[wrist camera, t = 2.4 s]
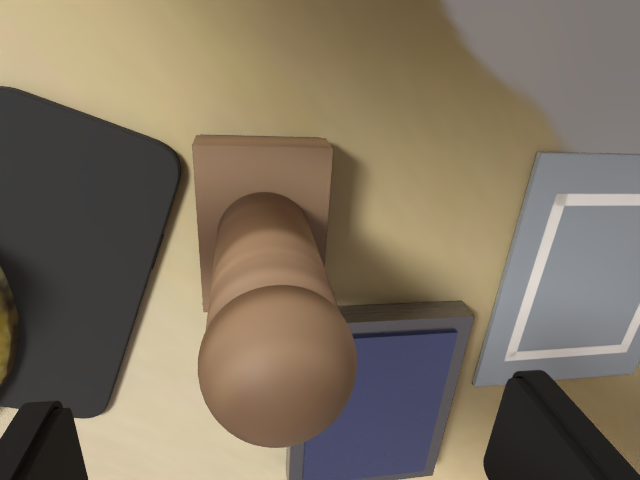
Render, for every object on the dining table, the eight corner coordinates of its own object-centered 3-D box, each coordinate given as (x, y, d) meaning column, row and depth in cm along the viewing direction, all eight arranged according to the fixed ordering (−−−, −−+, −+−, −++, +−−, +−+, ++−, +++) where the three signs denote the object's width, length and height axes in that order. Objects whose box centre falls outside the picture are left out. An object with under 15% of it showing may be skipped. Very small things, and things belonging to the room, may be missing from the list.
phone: (-69, 395, 20) (-31, 74, 14) (-58, 382, 20) (-18, 72, 15) (102, 423, 22) (189, 154, 17) (107, 410, 23) (191, 149, 17)
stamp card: (537, 152, 20) (542, 154, 19) (733, 156, 21) (740, 157, 21) (472, 383, 26) (474, 387, 25) (629, 370, 28) (634, 374, 27)
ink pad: (292, 308, 21) (296, 328, 20) (461, 300, 23) (476, 318, 21) (286, 470, 26) (288, 496, 25) (424, 455, 28) (433, 478, 26)
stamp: (197, 131, 17) (135, 281, 7) (322, 135, 18) (430, 272, 8) (207, 284, 20) (173, 543, 10) (313, 280, 21) (382, 515, 11)
